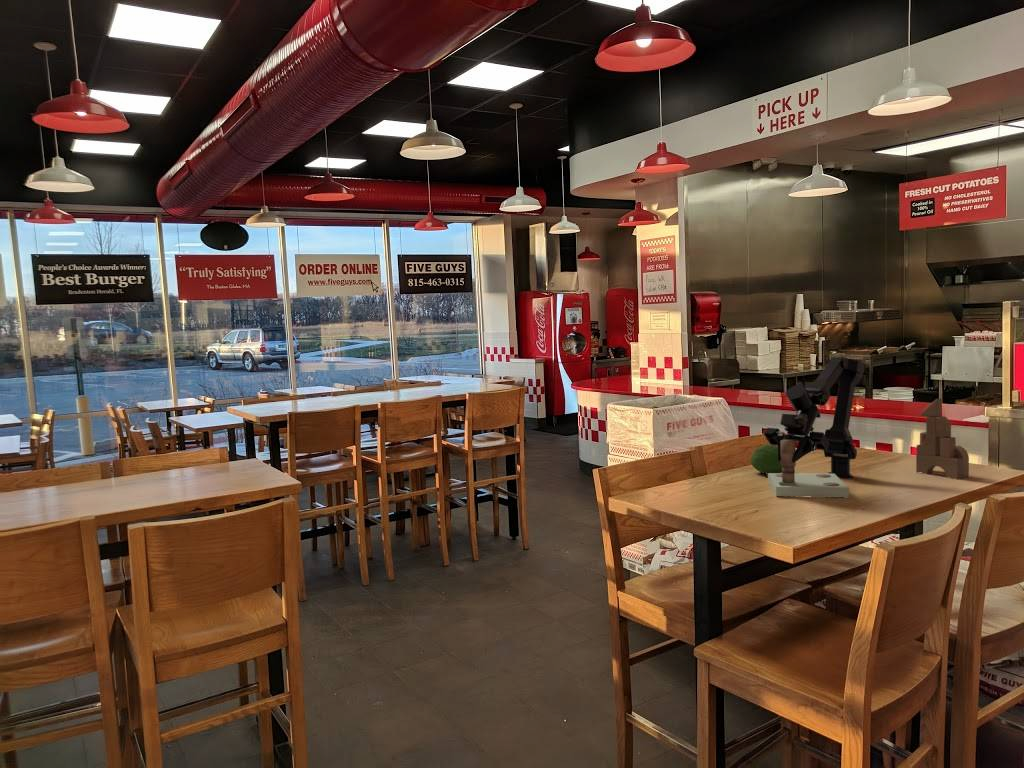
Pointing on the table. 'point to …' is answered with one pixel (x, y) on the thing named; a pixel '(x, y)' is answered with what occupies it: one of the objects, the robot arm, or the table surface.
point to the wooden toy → (940, 445)
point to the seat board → (809, 485)
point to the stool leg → (788, 460)
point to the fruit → (766, 459)
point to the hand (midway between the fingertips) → (785, 460)
